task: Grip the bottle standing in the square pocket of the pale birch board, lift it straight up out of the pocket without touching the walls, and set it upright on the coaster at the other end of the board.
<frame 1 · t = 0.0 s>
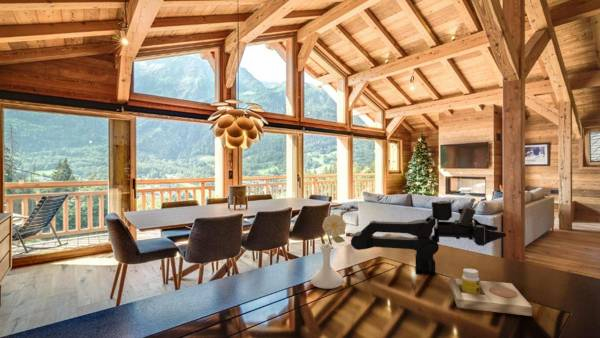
hand: (501, 231, 106), 17 cm above the kitchen island, tool horizontal, fingers open, 9 cm apart
pocket board: (485, 298, 91), on the kitchen island
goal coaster: (503, 292, 90), resting on pocket board
supplement bottle: (471, 298, 93), resting in pocket board
flower in vase: (329, 285, 105), on the kitchen island
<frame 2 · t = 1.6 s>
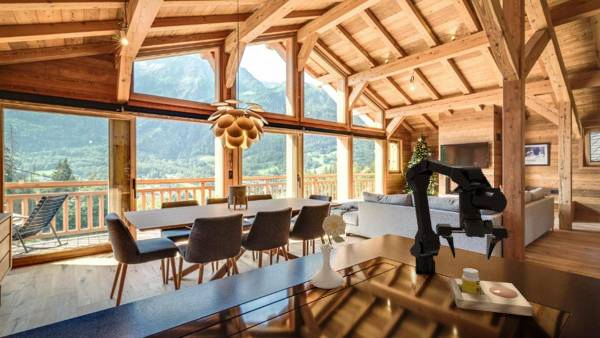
hand: (470, 258, 92), 12 cm above the kitchen island, tool pointing down, fingers open, 9 cm apart
nothing on the kitchen island moved.
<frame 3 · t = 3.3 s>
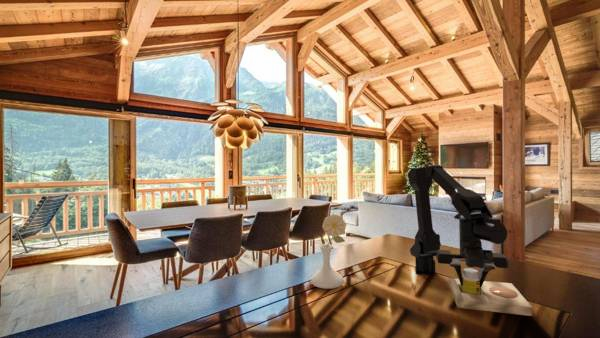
hand: (470, 286, 93), 4 cm above the kitchen island, tool pointing down, fingers closed on supplement bottle, 5 cm apart
supplement bottle: (471, 298, 93), resting in pocket board, touching gripper
everything else where it was.
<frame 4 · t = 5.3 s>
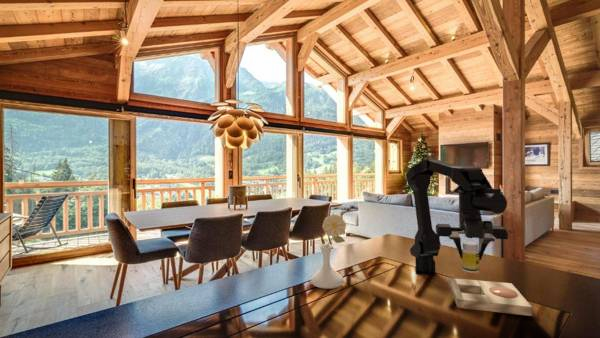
hand: (470, 259, 92), 12 cm above the kitchen island, tool pointing down, fingers closed on supplement bottle, 5 cm apart
supplement bottle: (470, 271, 92), point 8 cm above the kitchen island, touching gripper
everything else where it was.
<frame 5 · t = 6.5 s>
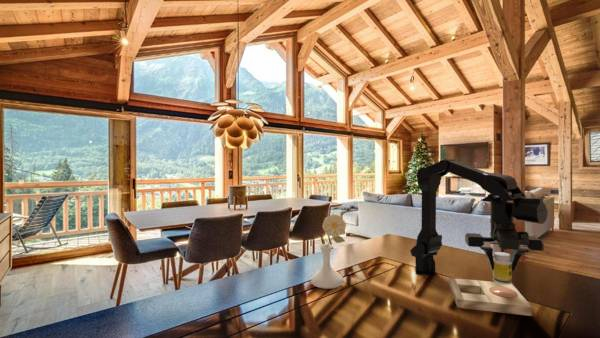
hand: (502, 270, 90), 9 cm above the kitchen island, tool pointing down, fingers closed on supplement bottle, 5 cm apart
supplement bottle: (502, 282, 90), point 5 cm above the kitchen island, touching gripper
everything else where it was.
when the fingers open (7 cm above the kitchen island, at t = 7.5 s): supplement bottle drops 1 cm, resting on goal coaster.
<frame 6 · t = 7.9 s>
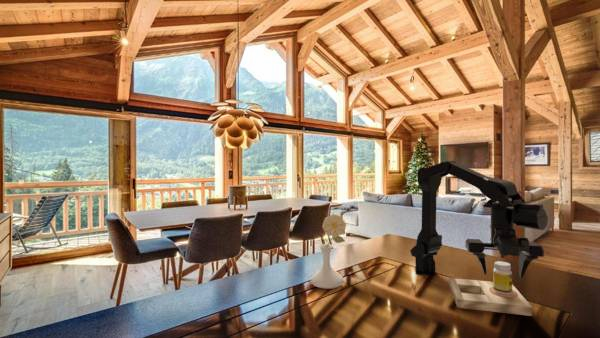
hand: (502, 275, 90), 7 cm above the kitchen island, tool pointing down, fingers open, 9 cm apart
supplement bottle: (502, 292, 90), point 3 cm above the kitchen island, touching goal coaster
everything else where it was.
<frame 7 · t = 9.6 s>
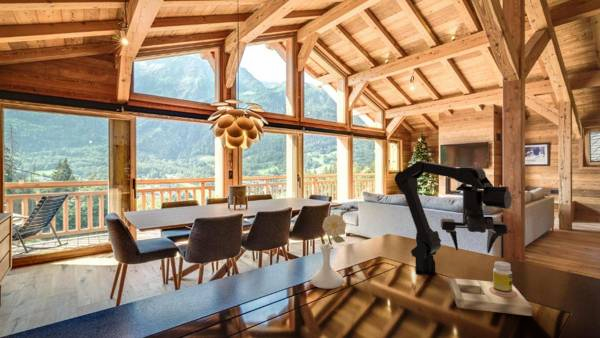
hand: (472, 251, 100), 12 cm above the kitchen island, tool pointing down, fingers open, 9 cm apart
nothing on the kitchen island moved.
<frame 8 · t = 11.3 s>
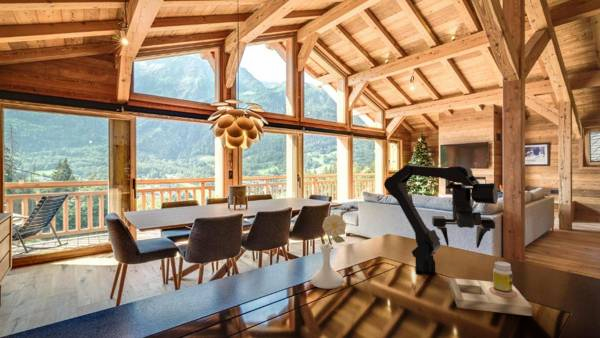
hand: (462, 246, 105), 12 cm above the kitchen island, tool pointing down, fingers open, 9 cm apart
nothing on the kitchen island moved.
at the end: supplement bottle 0.1 cm off-centre on the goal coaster, point 0.1 cm above the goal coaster's base; supplement bottle tilted 0°; the gripper is holding nothing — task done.
